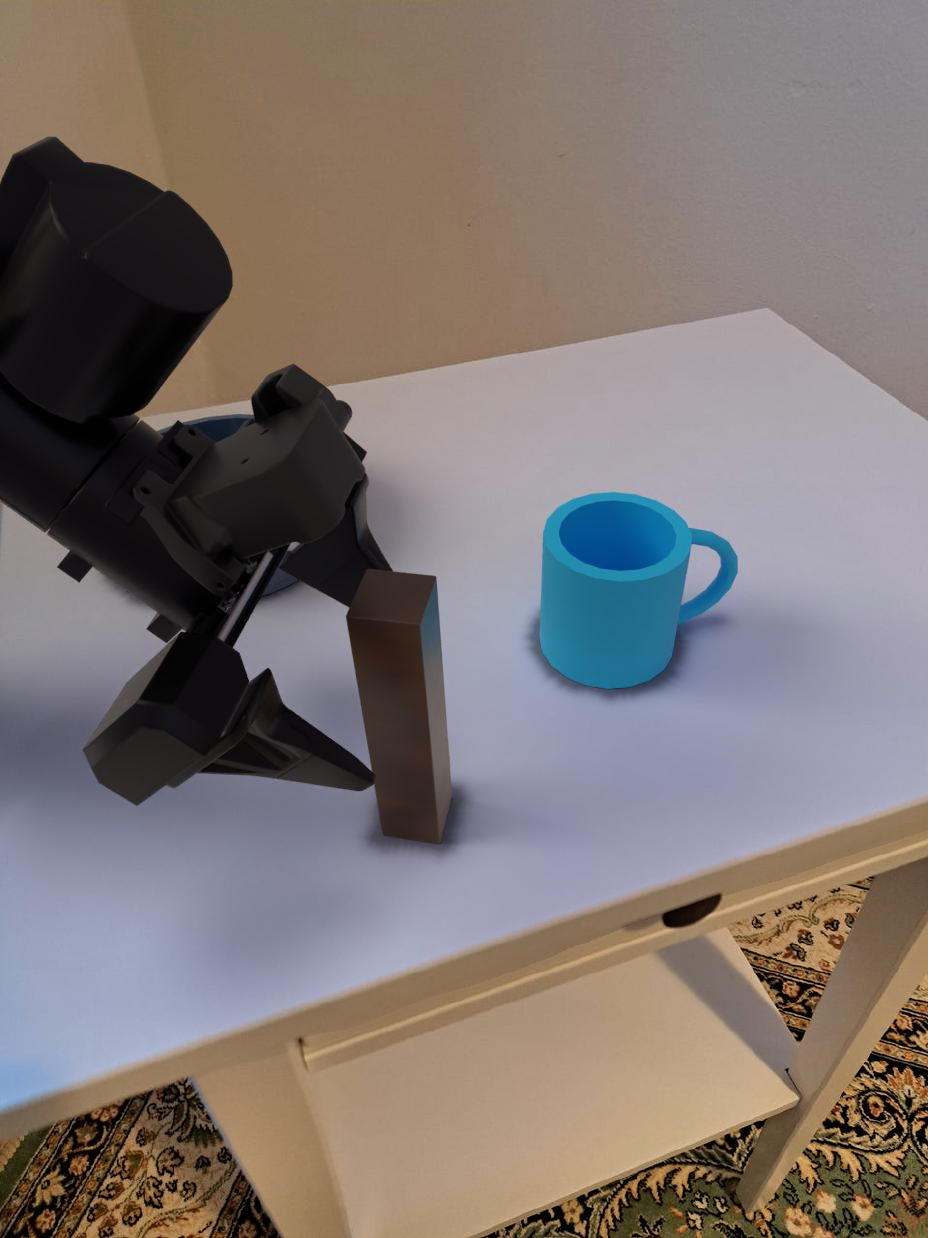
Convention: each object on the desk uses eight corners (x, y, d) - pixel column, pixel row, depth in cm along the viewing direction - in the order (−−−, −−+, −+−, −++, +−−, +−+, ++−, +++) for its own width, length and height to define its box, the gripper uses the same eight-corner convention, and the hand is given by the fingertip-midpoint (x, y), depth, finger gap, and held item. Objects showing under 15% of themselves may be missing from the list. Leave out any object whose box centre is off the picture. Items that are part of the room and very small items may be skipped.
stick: (382, 835, 45) (345, 616, 34) (397, 787, 47) (366, 568, 37) (440, 844, 44) (419, 624, 34) (452, 795, 46) (436, 575, 36)
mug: (563, 700, 51) (569, 593, 45) (523, 609, 57) (525, 504, 51) (755, 661, 53) (784, 554, 47) (697, 577, 58) (717, 472, 53)
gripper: (44, 505, 23) (481, 818, 28) (290, 242, 36) (552, 489, 42) (-83, 683, 29) (290, 907, 35) (164, 404, 43) (405, 599, 48)
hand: (397, 702), depth 40 cm, fingers open, 9 cm apart
